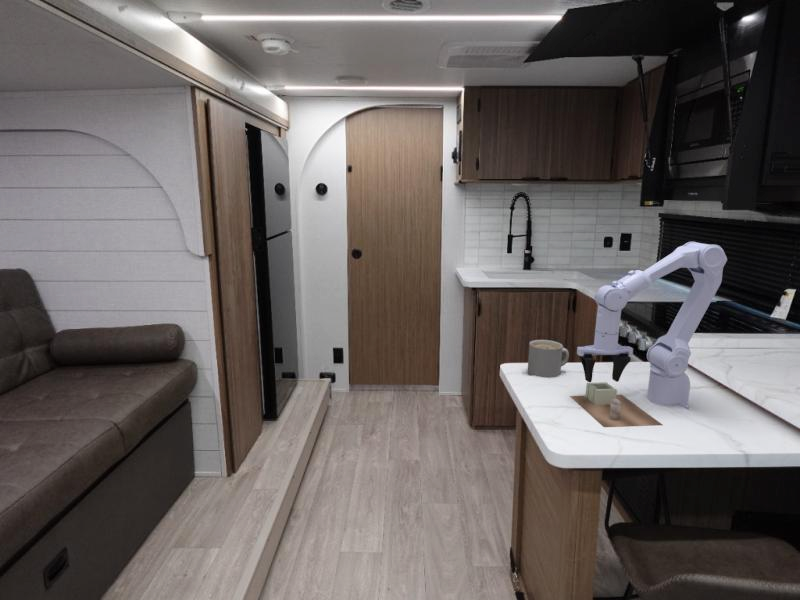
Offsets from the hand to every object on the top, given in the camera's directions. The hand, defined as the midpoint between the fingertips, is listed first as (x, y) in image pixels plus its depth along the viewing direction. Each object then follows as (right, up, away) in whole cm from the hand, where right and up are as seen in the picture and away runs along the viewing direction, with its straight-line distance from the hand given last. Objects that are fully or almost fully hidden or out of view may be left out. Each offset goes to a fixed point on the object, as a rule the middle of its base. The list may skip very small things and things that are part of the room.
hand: (601, 380), depth 134 cm
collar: (0, -6, +1) cm, 6 cm away
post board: (+1, -8, -4) cm, 9 cm away
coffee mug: (-7, -2, +23) cm, 25 cm away
